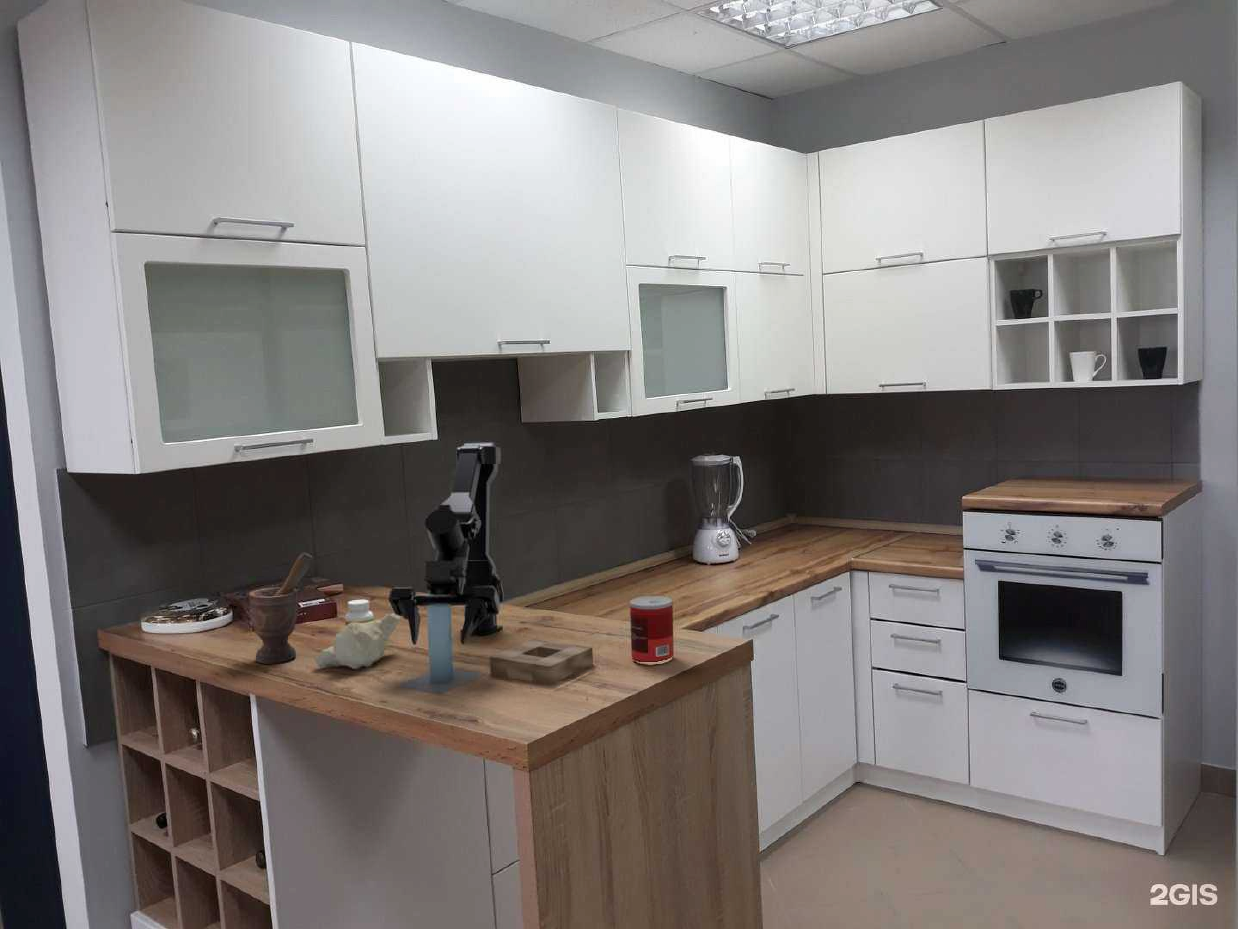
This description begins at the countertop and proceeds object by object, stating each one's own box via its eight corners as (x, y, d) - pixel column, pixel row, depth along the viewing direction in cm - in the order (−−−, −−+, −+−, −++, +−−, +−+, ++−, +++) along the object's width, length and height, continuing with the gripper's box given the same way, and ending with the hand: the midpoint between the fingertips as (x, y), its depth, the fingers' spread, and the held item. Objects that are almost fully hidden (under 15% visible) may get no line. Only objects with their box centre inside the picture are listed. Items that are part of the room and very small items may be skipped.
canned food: (678, 655, 185) (677, 596, 184) (666, 667, 178) (665, 606, 177) (639, 652, 188) (637, 595, 187) (625, 664, 180) (624, 604, 179)
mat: (443, 669, 181) (443, 667, 180) (486, 676, 175) (486, 674, 175) (396, 687, 170) (395, 685, 170) (440, 696, 165) (440, 694, 165)
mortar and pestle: (302, 647, 198) (296, 547, 196) (323, 655, 192) (317, 552, 190) (245, 659, 190) (239, 556, 188) (265, 668, 184) (259, 561, 182)
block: (534, 657, 186) (534, 639, 186) (593, 666, 180) (592, 647, 179) (490, 676, 175) (489, 656, 175) (550, 686, 169) (550, 666, 168)
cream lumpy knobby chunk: (322, 691, 176) (386, 636, 176) (300, 658, 178) (364, 604, 178) (361, 691, 191) (420, 640, 191) (341, 661, 193) (399, 610, 193)
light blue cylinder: (440, 675, 176) (438, 602, 174) (458, 678, 173) (455, 604, 172) (425, 681, 172) (422, 607, 171) (442, 684, 170) (439, 609, 169)
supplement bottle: (367, 655, 191) (365, 605, 190) (341, 654, 192) (339, 604, 191) (379, 647, 196) (377, 598, 196) (354, 646, 198) (351, 598, 197)
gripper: (388, 542, 175) (372, 619, 165) (494, 540, 174) (483, 618, 164) (403, 577, 184) (388, 652, 174) (503, 575, 182) (494, 651, 173)
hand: (438, 643), depth 171 cm, fingers open, 8 cm apart
